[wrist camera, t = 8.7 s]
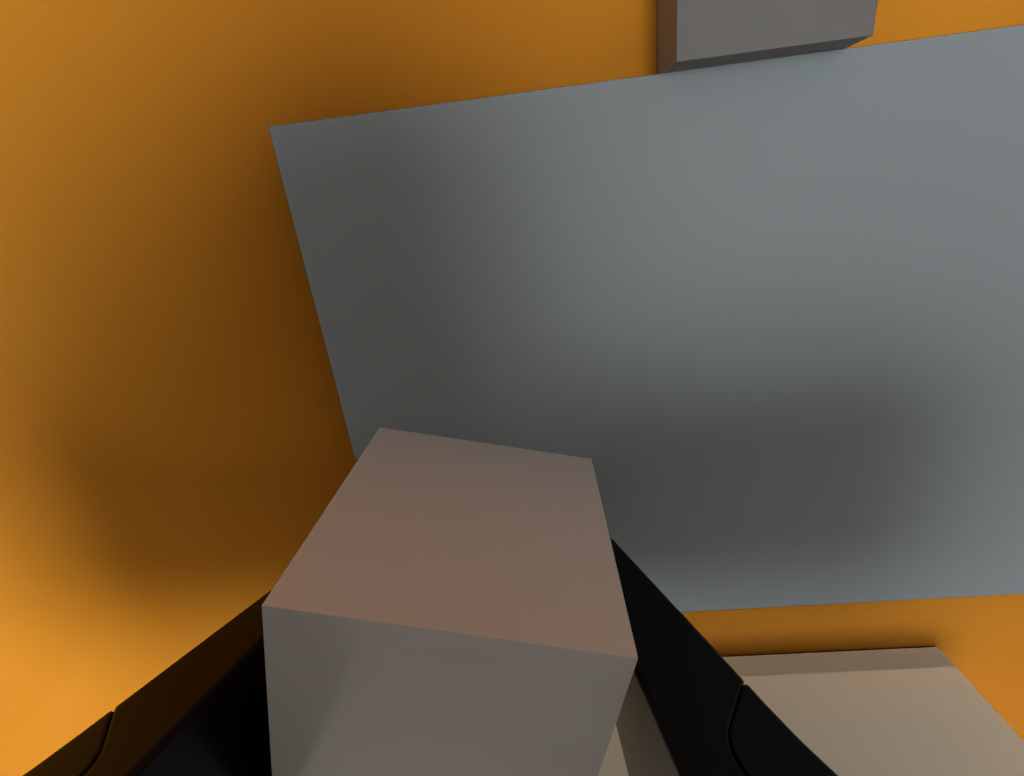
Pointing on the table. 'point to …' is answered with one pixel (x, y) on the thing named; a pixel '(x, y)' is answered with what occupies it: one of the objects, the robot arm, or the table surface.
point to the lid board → (710, 296)
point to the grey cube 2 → (450, 619)
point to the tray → (877, 713)
